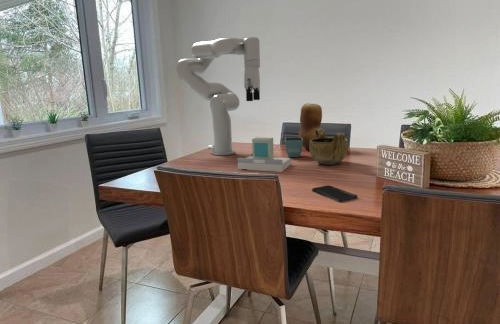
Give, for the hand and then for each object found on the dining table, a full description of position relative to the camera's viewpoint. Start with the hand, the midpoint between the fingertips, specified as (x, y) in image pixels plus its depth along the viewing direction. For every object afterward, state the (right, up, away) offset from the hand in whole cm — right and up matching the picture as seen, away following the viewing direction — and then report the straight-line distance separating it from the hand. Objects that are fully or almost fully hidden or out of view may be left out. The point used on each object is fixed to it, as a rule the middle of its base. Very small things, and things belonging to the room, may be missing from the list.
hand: (253, 100), depth 177 cm
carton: (+4, -30, -18) cm, 35 cm away
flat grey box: (+5, -32, -16) cm, 37 cm away
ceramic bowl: (+34, -31, -14) cm, 48 cm away
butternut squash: (+32, -23, +22) cm, 45 cm away
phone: (+26, -42, -58) cm, 76 cm away
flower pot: (+20, -28, +4) cm, 35 cm away
